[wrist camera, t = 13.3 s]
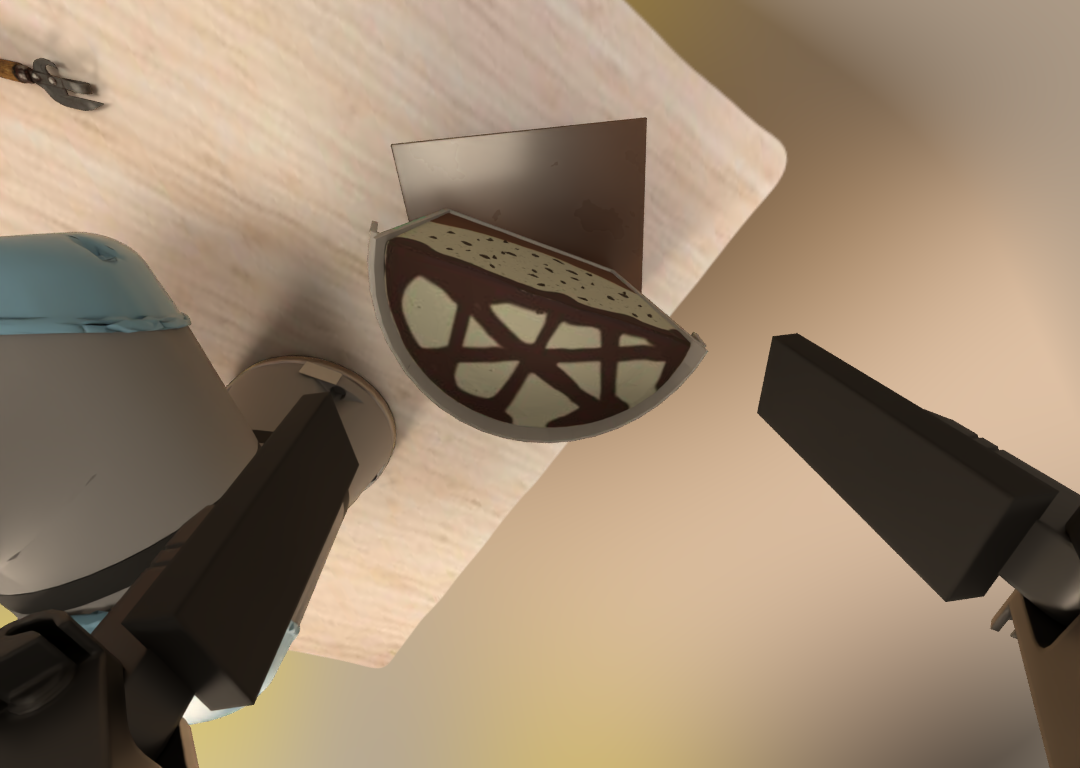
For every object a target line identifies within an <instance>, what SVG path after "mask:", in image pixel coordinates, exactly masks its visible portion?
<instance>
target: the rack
mask: <svg viewBox="0 0 1080 768" xmlns="http://www.w3.org/2000/svg"><path fill="white" fill-rule="evenodd" d="M646 129H647V118H636V119H627V120H617V121H607V122H598V123H588V124H579V125H569V126H560V127H550V128H541V129H531V130H522V131H512V132H503V133H493V134H484V135H474V136H465V137H455V138H446V139H436V140H427V141H417V142H407V143H398V144H391V148H392V152H393V156H394V160H395V165H396V169H397V173H398V177H399V182H400V186H401V190H402V195H403V199H404V203H405V207H406V212H407V216H408V220H409V222H411V221H413V220H416V219H419V218H421V217H424V216H427V215H429V214H432V213H434V212H437V211H440V210H442V209H445V208H448V209H450V210H453V211H456V212H459V213H461V214H464V215H467V216H469V217H472V218H475V219H477V220H480V221H483V222H486V223H488V224H491V225H494V226H496V227H499V228H502V229H504V230H507V231H510V232H513V233H515V234H518V235H521V236H523V237H526V238H529V239H532V240H534V241H537V242H540V243H542V244H545V245H548V246H550V247H553V248H556V249H559V250H561V251H564V252H567V253H569V254H572V255H575V256H577V257H580V258H583V259H586V260H588V261H591V262H594V263H596V264H599V265H602V266H604V267H607V268H610V269H613V270H615V271H616V272H617V273H618V274H619V275H620V276H622V277H623V278H624V279H625V280H626V281H628V282H629V283H630V284H631V285H632V286H633V287H635V288H636V289H637V290H638V291H639V292H640V293H641V292H642V260H643V227H644V194H645V162H646Z"/></svg>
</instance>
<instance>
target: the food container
mask: <svg viewBox="0 0 1080 768" xmlns="http://www.w3.org/2000/svg"><path fill="white" fill-rule="evenodd" d="M377 226H378V222H376V221H372V224H371V228H370V234H369V246H368V258H367V261H368V274H369V287H370V293H371V297H372V301H373V306H374V310H375V314H376V318H377V320H378V323H379V325H380V328H381V330H382V332H383V335H384V337H385V340H386V342H387V344H388V346H389V347H390V349H391V351H392V353H393V354H394V356H395V357H396V359H397V361H398V362H399V364H400V366H401V367H402V369H403V370H404V372H405V373H406V374H407V376H408V377H409V378H410V379H411V380H412V381H413V383H414V384H415V385H416V386H417V387H418V389H419V390H420V391H421V392H422V393H423V394H424V395H426V396H427V397H428V398H429V399H430V400H431V401H432V402H434V403H435V404H436V405H437V406H438V407H439V408H441V409H442V410H444V411H445V412H447V413H448V414H450V415H451V416H453V417H455V418H456V419H458V420H459V421H461V422H463V423H465V424H467V425H469V426H472V427H474V428H476V429H478V430H480V431H483V432H486V433H489V434H492V435H496V436H499V437H502V438H506V439H512V440H518V441H523V442H537V443H556V442H568V441H576V440H580V439H585V438H590V437H595V436H598V435H601V434H603V433H607V432H609V431H612V430H615V429H618V428H620V427H622V426H624V425H626V424H628V423H630V422H632V421H634V420H636V419H638V418H640V417H642V416H643V415H644V414H646V413H647V412H649V411H651V410H652V409H654V408H655V407H657V406H658V405H659V404H661V403H662V402H663V401H664V400H666V399H667V398H668V397H669V396H670V395H671V394H673V393H674V392H675V391H676V390H677V389H678V388H679V387H680V386H681V385H682V384H683V383H684V382H685V380H686V379H687V378H688V377H689V376H690V375H691V374H692V373H693V372H694V370H695V369H696V368H697V366H698V365H699V364H700V362H701V361H702V359H703V358H704V357H705V355H706V354H707V352H708V351H707V349H706V348H705V347H706V345H705V343H704V342H703V341H702V339H701V338H700V337H699V335H698V334H697V333H695V332H693V333H692V335H690V334H689V333H687V332H686V331H685V330H684V329H683V328H681V327H680V326H679V325H678V324H677V323H676V322H674V321H673V320H672V319H671V318H670V317H669V316H668V315H666V314H665V313H664V312H663V311H662V310H660V309H659V308H658V307H657V306H656V305H655V304H653V303H652V302H651V301H650V300H649V299H648V298H646V297H645V296H644V295H643V294H642V293H640V292H639V291H638V290H637V289H636V288H635V287H633V286H632V285H631V284H630V283H629V282H628V281H626V280H625V279H624V278H623V277H622V276H620V275H619V274H618V273H617V272H616V271H615V270H613V269H610V268H607V267H604V266H602V265H599V264H596V263H594V262H591V261H588V260H586V259H583V258H580V257H577V256H575V255H572V254H569V253H567V252H564V251H561V250H559V249H556V248H553V247H550V246H548V245H545V244H542V243H540V242H537V241H534V240H532V239H529V238H526V237H523V236H521V235H518V234H515V233H513V232H510V231H507V230H504V229H502V228H499V227H496V226H494V225H491V224H488V223H486V222H483V221H480V220H477V219H475V218H472V217H469V216H467V215H464V214H461V213H459V212H456V211H453V210H450V209H448V208H445V209H442V210H440V211H437V212H434V213H432V214H429V215H427V216H424V217H421V218H419V219H416V220H413V221H411V222H408V223H405V224H403V225H400V226H398V227H395V228H392V229H390V230H387V231H384V232H382V233H379V232H377Z"/></svg>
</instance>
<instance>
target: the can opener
mask: <svg viewBox="0 0 1080 768" xmlns="http://www.w3.org/2000/svg"><path fill="white" fill-rule="evenodd" d="M46 65H50V66H53V67H55V68H56V69H57V67H56V66H55V64H54V63H53V62H51V61H49V60H47V59H44V58H40V59H37V60H35V61H34V62H33V70H32V69H31V68H29V67H26V66H23V65H22V64H20V63H17V62H12V61H8V60H3V59H0V77H2V78H6V79H10V80H14V81H17V82H21V83H36V84H38V85H39V86H41V87H42V88H44V89H45V90H46V92H47V93H48V94H49V95H50V96H51V97H52V98H53V99H54V100H55V101H57V102H58V103H60V104H62V105H64V106H67V107H70V108H74V109H78V110H84V111H89V110H93V109H96V108H98V107H100V106H101V105H103V103H99V102H95V101H90V100H86V99H82V98H78V97H73V96H69V95H68V93H67V90H70V91H73V92H76V93H80V94H93V93H92V90H91V87H90V84H89V83H86V82H81V81H76V80H70V79H64V78H60V77H56V76H52V75H50V74H49V73H48V71H47V70H46ZM66 89H67V90H66Z"/></svg>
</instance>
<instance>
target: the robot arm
mask: <svg viewBox="0 0 1080 768" xmlns="http://www.w3.org/2000/svg"><path fill="white" fill-rule="evenodd" d="M188 325H191V321H190V318H189V317H188V315H186V314H184V313H182V312H180V311H179V310H178V308H177V307H176V305H175V304H174V303H173V301H172V300H171V298H170V297H169V295H168V294H167V292H166V291H165V290H164V288H163V287H162V285H161V284H160V282H159V281H158V279H157V278H156V277H155V275H154V274H153V272H152V271H151V269H150V268H149V266H148V265H147V263H146V262H145V261H144V260H143V259H142V257H141V256H140V255H139V254H137V253H136V252H135V251H134V250H133V249H131V248H130V247H128V246H127V245H125V244H123V243H121V242H119V241H117V240H115V239H112V238H109V237H106V236H103V235H98V234H93V233H86V232H67V233H48V234H32V235H16V236H1V237H0V604H1V605H3V606H4V607H5V608H7V609H8V610H10V611H11V612H12V613H13V614H14V615H15V616H16V617H18V620H16V621H13V622H11V623H9V624H7V625H5V626H4V627H2V628H0V768H199V766H198V761H197V756H196V751H195V747H194V741H193V736H192V732H191V728H190V726H189V725H191V724H196V723H201V722H206V721H211V720H214V719H218V718H221V717H223V716H226V715H229V714H231V713H234V712H235V711H238V710H240V709H241V708H243V707H245V706H249V705H254V703H255V701H256V699H257V697H258V696H259V695H260V694H261V693H262V691H264V690H265V689H266V688H267V687H268V685H269V684H270V683H271V681H272V680H273V678H274V676H275V674H276V672H277V670H278V668H279V666H280V664H281V662H282V660H283V658H284V657H285V655H286V653H287V651H288V649H289V647H290V645H291V643H292V641H293V640H294V639H295V638H296V637H297V636H298V634H299V631H300V626H299V625H300V623H301V620H302V618H303V615H304V613H305V611H306V608H307V606H308V603H309V601H310V598H311V596H312V593H313V591H314V589H315V586H316V584H317V581H318V579H319V576H320V574H321V571H322V569H323V567H324V564H325V562H326V559H327V557H328V554H329V552H330V550H331V547H332V545H333V542H334V540H335V538H336V535H337V533H338V531H339V528H340V526H341V523H342V521H343V519H344V516H345V514H346V512H347V509H348V508H349V507H350V506H351V505H352V504H353V503H354V502H355V501H356V500H357V498H358V497H359V496H360V494H361V493H362V492H363V491H364V490H366V489H367V488H368V487H370V486H371V485H372V484H373V483H374V482H375V481H376V480H377V479H378V478H379V476H380V475H381V474H382V472H383V471H384V469H385V467H386V466H387V464H388V462H389V460H390V457H391V454H392V451H393V449H394V445H395V438H396V430H395V423H394V419H393V416H392V414H391V411H390V409H389V407H388V405H387V404H386V402H385V401H384V399H383V398H382V397H381V395H380V394H379V393H378V392H377V391H376V390H375V389H374V388H373V387H372V386H371V385H370V384H369V383H368V382H367V381H365V380H364V379H363V378H361V377H360V376H359V375H357V374H355V373H354V372H352V371H350V370H348V369H346V368H345V367H342V366H340V365H338V364H335V363H332V362H329V361H326V360H322V359H318V358H313V357H306V356H281V357H275V358H270V359H267V360H263V361H261V362H258V363H256V364H254V365H252V366H250V367H249V368H247V369H246V370H244V371H243V372H242V373H241V374H240V375H238V376H237V377H236V378H235V379H234V380H233V381H232V382H230V384H229V385H228V386H227V387H225V386H224V384H223V382H222V381H221V379H220V377H219V376H218V374H217V372H216V371H215V369H214V367H213V366H212V364H211V363H210V361H209V359H208V358H207V356H206V354H205V353H204V351H203V349H202V348H201V346H200V344H199V343H198V341H197V339H196V338H195V336H194V334H193V333H192V331H191V329H190V328H189V326H188ZM757 413H758V414H759V415H760V416H761V417H762V418H763V419H764V420H765V421H766V422H767V423H768V424H769V425H770V426H771V427H772V428H773V429H774V430H775V431H776V432H777V433H778V434H779V435H780V436H781V437H782V438H783V439H784V440H785V441H786V442H787V443H788V444H789V445H790V446H791V447H792V448H793V449H794V450H795V451H796V452H797V453H798V454H799V455H800V456H801V457H802V458H803V459H804V460H805V461H806V462H807V463H808V464H809V465H810V466H811V467H812V468H813V469H814V470H815V471H816V472H817V473H818V474H819V475H820V476H821V477H822V478H823V479H824V480H825V481H826V482H827V483H828V484H829V485H830V486H831V487H832V488H833V489H834V490H835V491H836V492H837V493H838V494H839V495H840V496H841V497H842V498H843V499H844V500H845V501H846V502H847V503H848V504H849V505H850V506H851V507H852V508H853V509H854V510H855V511H856V512H857V513H858V514H859V515H860V516H861V517H862V518H863V519H864V520H865V521H866V522H867V523H868V524H869V525H870V526H871V527H872V528H873V529H874V530H875V532H877V534H879V535H880V536H881V538H882V539H883V540H885V542H886V543H887V544H888V545H890V547H891V548H892V549H893V550H895V552H896V553H897V554H899V556H900V557H902V559H903V560H904V561H905V562H906V563H907V564H908V565H909V566H910V567H911V568H912V569H913V570H914V571H916V573H917V574H918V575H919V576H920V577H922V579H923V580H924V581H925V582H926V583H928V585H929V586H930V587H931V588H932V589H933V590H934V591H935V592H936V593H937V594H938V595H939V596H940V597H942V599H943V600H944V601H945V602H948V601H956V600H962V599H969V598H975V597H982V596H984V595H985V594H986V593H987V591H988V590H989V588H990V587H991V586H992V584H993V583H994V581H995V580H996V579H997V577H998V576H1001V577H1002V578H1003V579H1004V580H1005V581H1007V582H1008V583H1009V584H1010V585H1011V586H1013V587H1014V588H1015V590H1014V592H1013V593H1012V594H1011V595H1010V597H1009V598H1008V599H1007V601H1006V602H1005V603H1004V604H1003V606H1002V607H1001V608H1000V610H999V611H998V612H997V613H996V615H995V616H994V618H993V619H992V621H991V629H993V630H995V631H1000V629H1001V628H1002V627H1003V626H1004V624H1005V623H1006V622H1007V621H1008V620H1013V623H1014V627H1015V630H1014V631H1013V632H1012V633H1011V637H1013V638H1016V639H1018V643H1019V647H1020V651H1021V655H1022V659H1023V663H1024V667H1025V671H1026V675H1027V679H1028V683H1029V687H1030V691H1031V695H1032V699H1033V703H1034V707H1035V711H1036V715H1037V719H1038V723H1039V727H1040V731H1041V735H1042V739H1043V743H1044V747H1045V751H1046V755H1047V759H1048V763H1049V767H1050V768H1080V495H1079V494H1078V493H1076V492H1074V491H1072V490H1071V489H1069V488H1067V487H1066V486H1064V485H1062V484H1060V483H1059V482H1057V481H1056V480H1054V479H1052V478H1050V477H1049V476H1047V475H1045V474H1044V473H1042V472H1040V471H1038V470H1037V469H1035V468H1033V467H1031V466H1030V465H1028V464H1027V463H1025V462H1023V461H1021V460H1020V459H1018V458H1016V457H1015V456H1013V455H1011V454H1009V453H1008V452H1006V451H1004V450H999V449H998V446H996V445H994V444H993V443H991V442H989V441H988V440H986V439H984V438H978V435H977V434H975V433H974V432H972V431H970V430H969V429H967V428H965V427H964V426H962V425H960V424H959V423H957V422H955V421H954V420H951V419H948V418H946V417H943V416H941V415H938V414H935V413H933V412H930V411H927V410H925V409H922V408H921V407H919V406H917V405H916V404H914V403H912V402H911V401H909V400H907V399H906V398H904V397H902V396H900V395H899V394H897V393H895V392H894V391H892V390H891V389H889V388H887V387H885V386H884V385H882V384H881V383H879V382H877V381H876V380H874V379H872V378H871V377H869V376H867V375H866V374H864V373H862V372H861V371H859V370H858V369H856V368H854V367H853V366H851V365H849V364H847V363H846V362H844V361H842V360H841V359H839V358H838V357H836V356H834V355H833V354H831V353H829V352H828V351H826V350H824V349H823V348H821V347H819V346H818V345H816V344H814V343H812V342H811V341H809V340H808V339H806V338H804V337H803V336H801V335H799V334H798V333H796V334H788V335H780V336H773V337H772V342H771V347H770V352H769V357H768V362H767V367H766V372H765V377H764V382H763V387H762V392H761V397H760V401H759V406H758V412H757Z"/></svg>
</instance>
